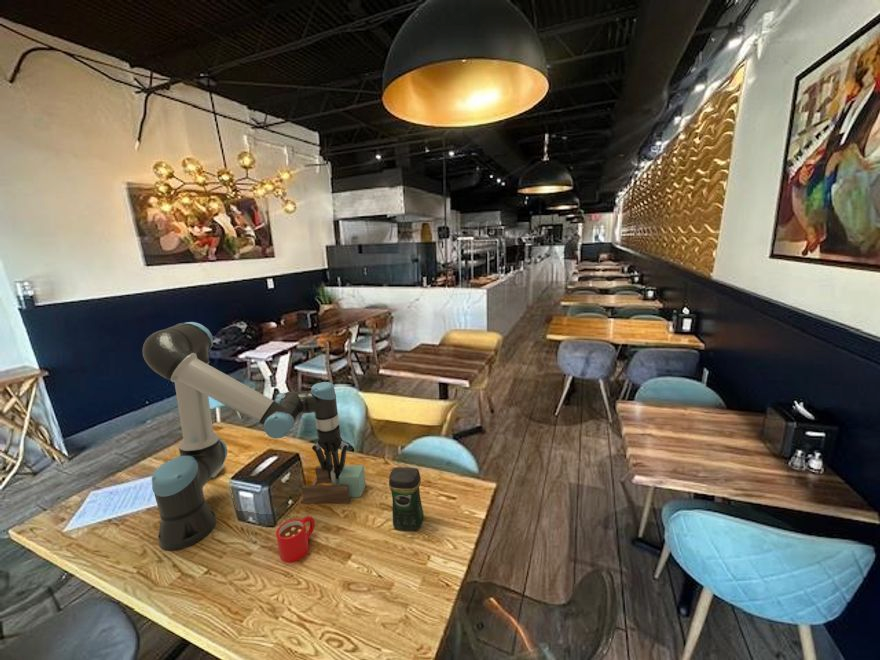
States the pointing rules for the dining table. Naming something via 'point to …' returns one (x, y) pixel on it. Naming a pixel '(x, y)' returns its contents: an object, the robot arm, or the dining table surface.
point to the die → (218, 470)
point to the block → (353, 479)
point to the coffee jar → (406, 498)
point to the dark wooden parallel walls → (325, 490)
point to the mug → (294, 538)
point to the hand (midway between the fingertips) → (335, 486)
